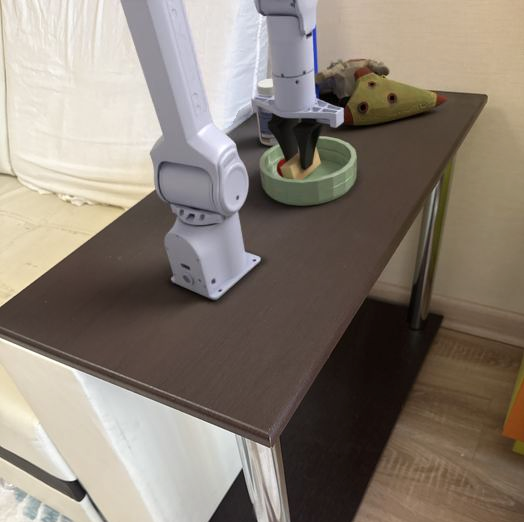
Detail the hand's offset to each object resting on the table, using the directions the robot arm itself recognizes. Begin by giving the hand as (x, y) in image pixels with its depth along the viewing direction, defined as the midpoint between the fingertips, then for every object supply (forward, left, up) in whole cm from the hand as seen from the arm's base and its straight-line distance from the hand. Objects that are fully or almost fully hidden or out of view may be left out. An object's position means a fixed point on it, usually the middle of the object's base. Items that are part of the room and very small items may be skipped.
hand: (300, 164), depth 80 cm
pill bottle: (+11, +13, -3) cm, 17 cm away
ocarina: (+25, -3, -3) cm, 25 cm away
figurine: (+25, +6, +2) cm, 26 cm away
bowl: (+1, -1, -3) cm, 3 cm away
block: (0, -1, -2) cm, 2 cm away
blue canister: (+25, +16, -3) cm, 30 cm away
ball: (0, +2, -1) cm, 3 cm away
